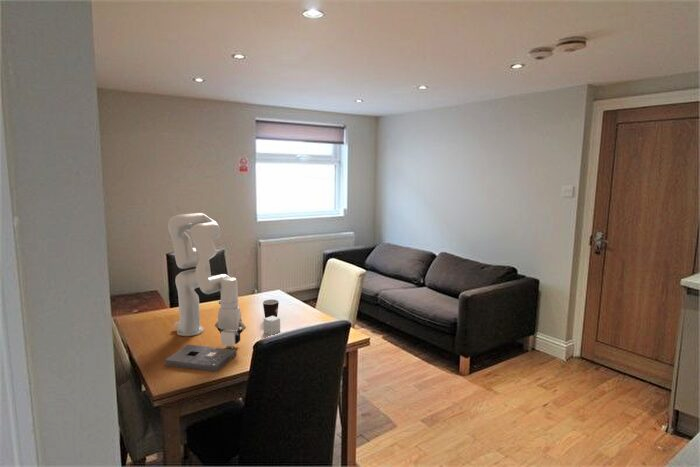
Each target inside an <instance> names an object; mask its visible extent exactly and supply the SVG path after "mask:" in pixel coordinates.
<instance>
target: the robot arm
mask: <svg viewBox="0 0 700 467" xmlns="http://www.w3.org/2000/svg"><path fill="white" fill-rule="evenodd" d="M167 224H168V225H167V230H168V232H169V235H170V237H171V240H172V245H173V246H172V247H173V251H174V252H173V253H174V259H175V263H176V266H177V268H179V269H188V270H184V271H181V272H179V273H178V274H177V275H176V276H175V283H174V284H175V286H176V290H177V296H178V312H179V321H175V322H174V324H173V328H177V330H176V334H177V335H178V336H181V337H192V336H196V335H200V334H202V333H203V332H204V326H202V325H201V315H200V314H201V313H200V297H199V295H198V293H197V292H196V291H195V290H196V289H198V288H199V290H200V291H201V292H202V293H203V294H205V295H210V294H215V293H219V292H220V300H219V301H218V304H219V305H220V307H219V308H218V315H217V321H216V323H215V324H214V327H215V328H216V329H217V331H218V332H219V334H220V335H221V332H222V331H224V330H234V331H235V333H236V335H235V344H236V345H237V344H238V343H239V342H241V334H242V332H244V331H245V330H246V329H247V326H246V325H245V324H244V322H242V312H241V308H240V306H239V291H238V288H239V287H238V286H239V285H238V279H237V278H236V277H232V276H229V275H228V274H226V273H221V274H216V275H212V272H211V266H210V265H211V264H210V260H211V259H212V258H214V257H215V256H216V255H217V253H218V251H217V248H216V245H215V242H214V241H213V240H216V239H218V238H220V237H221V234H222V232H221V227H220V226H219V224H218V223H217V222H216V221H215V220H214V219H212V218H210V217H209V216H208V215H207V214H205V213H202V212H194V213H181V214H177V215H176V214H175V215H174V216H172V217H170V219H169V220H168V223H167ZM187 232H189V234H190V235H189V234H187ZM192 242H193V244H192ZM193 245H194V247H193ZM193 267H195V268H193ZM189 268H193V269H189Z"/></svg>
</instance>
